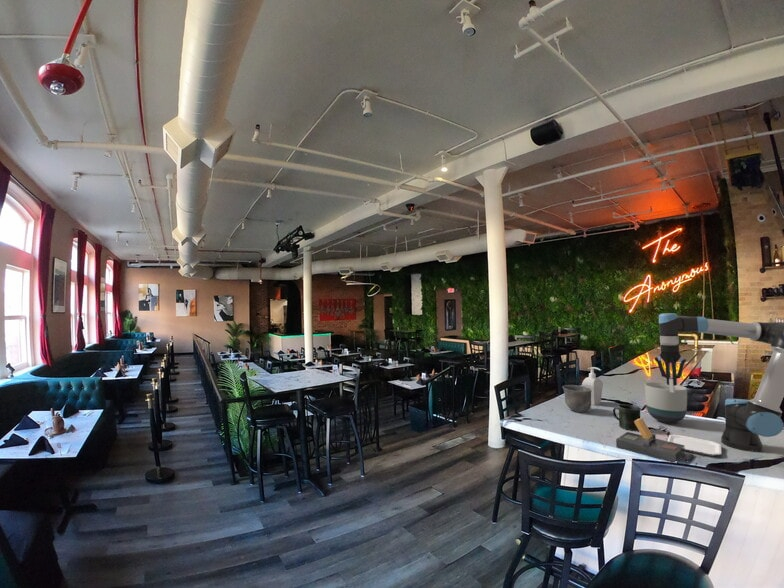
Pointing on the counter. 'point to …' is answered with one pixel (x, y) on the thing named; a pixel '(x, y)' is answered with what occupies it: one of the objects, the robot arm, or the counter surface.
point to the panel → (651, 447)
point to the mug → (627, 416)
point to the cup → (577, 397)
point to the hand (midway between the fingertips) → (672, 391)
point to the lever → (643, 429)
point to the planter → (666, 402)
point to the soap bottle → (594, 386)
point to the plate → (697, 445)
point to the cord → (689, 457)
